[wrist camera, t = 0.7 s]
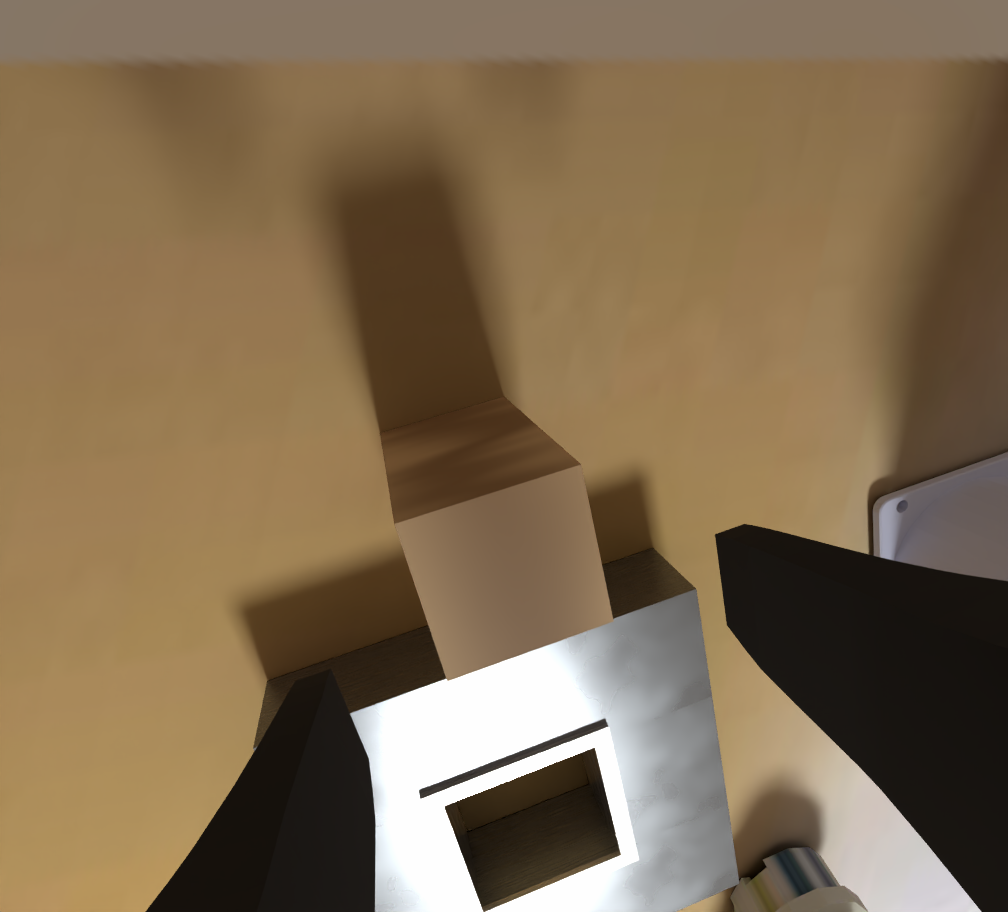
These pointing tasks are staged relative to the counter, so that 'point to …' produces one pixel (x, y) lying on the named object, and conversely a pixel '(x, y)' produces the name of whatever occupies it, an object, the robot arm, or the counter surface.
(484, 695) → the grey socket base
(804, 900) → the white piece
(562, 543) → the oak peg
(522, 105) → the counter surface
